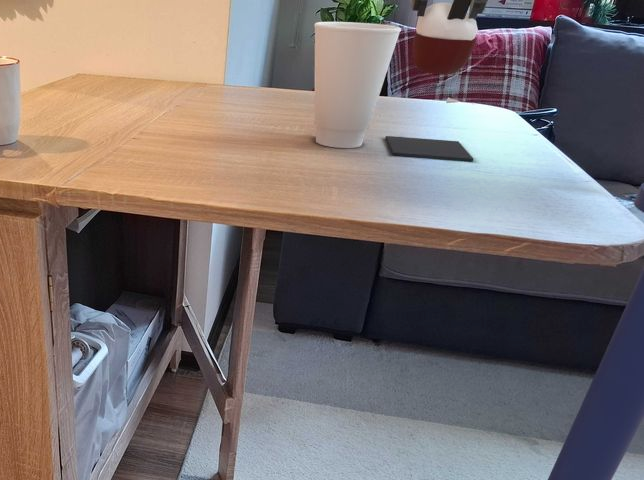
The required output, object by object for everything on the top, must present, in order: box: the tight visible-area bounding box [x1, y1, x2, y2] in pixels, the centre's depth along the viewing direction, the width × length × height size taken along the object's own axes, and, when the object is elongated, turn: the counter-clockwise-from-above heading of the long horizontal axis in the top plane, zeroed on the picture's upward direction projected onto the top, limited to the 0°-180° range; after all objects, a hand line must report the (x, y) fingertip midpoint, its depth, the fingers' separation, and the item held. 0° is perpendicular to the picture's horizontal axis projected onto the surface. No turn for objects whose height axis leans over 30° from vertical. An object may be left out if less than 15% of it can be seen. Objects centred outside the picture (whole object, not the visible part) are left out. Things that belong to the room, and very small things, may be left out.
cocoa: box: [412, 0, 479, 76], centre depth 65 cm, size 10×6×12 cm, turn 154°
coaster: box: [385, 135, 474, 162], centre depth 94 cm, size 11×11×1 cm
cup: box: [313, 21, 402, 149], centre depth 92 cm, size 12×12×16 cm
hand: (448, 10), depth 64 cm, fingers closed on cocoa, 4 cm apart
